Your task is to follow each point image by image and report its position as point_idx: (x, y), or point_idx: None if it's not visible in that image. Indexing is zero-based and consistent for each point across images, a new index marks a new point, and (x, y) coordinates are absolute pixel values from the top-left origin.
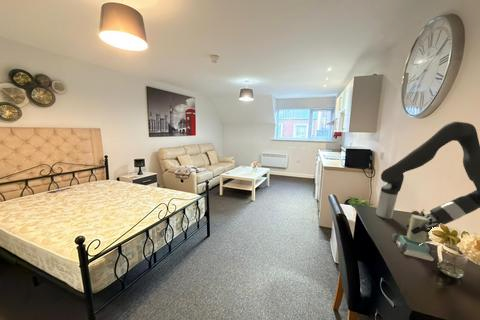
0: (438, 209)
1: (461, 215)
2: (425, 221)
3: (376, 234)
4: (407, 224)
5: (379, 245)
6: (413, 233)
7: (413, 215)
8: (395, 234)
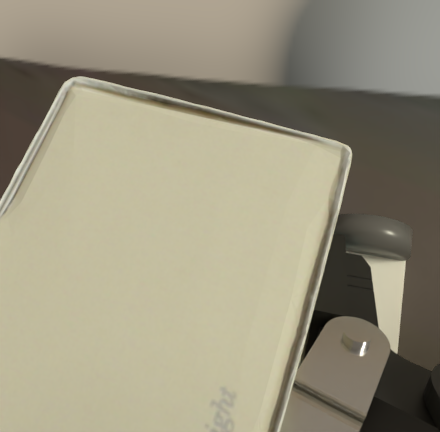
0: None
1: None
2: None
3: (426, 130)
4: (341, 245)
5: (223, 82)
6: None
7: (240, 148)
8: (362, 219)
